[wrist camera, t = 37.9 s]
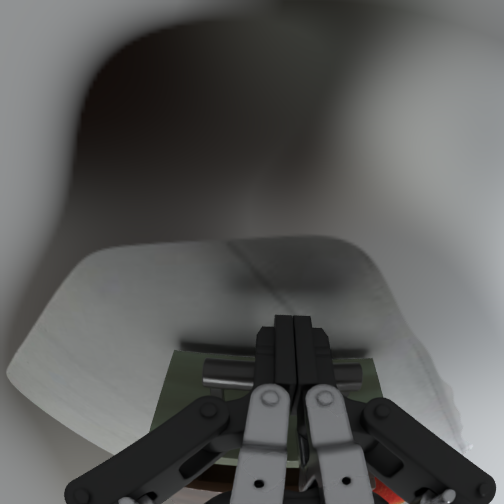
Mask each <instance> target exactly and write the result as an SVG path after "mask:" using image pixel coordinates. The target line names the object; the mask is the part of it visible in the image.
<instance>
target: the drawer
mask: <svg viewBox="0 0 504 504" xmlns="http://www.w3.org/2000/svg"><path fill="white" fill-rule="evenodd" d="M332 362H333V368H334V374H335V380H336V385H337V388H338V390H339V391H340V392H341V393H342V394H343V395H344V396H345V397H347V398H349V399H352V400H355V401H360V402H364V403H367V402H368V401H370V400H371V399H373V398H377V397H383V395H382V391H381V387H380V383H379V380H378V376H377V372H376V369H375V365H374V362H373V358H368V359H332ZM254 369H255V357H240V356H226V355H215V354H204V353H195V352H186V351H177V350H174V352H173V356H172V359H171V362H170V365H169V368H168V371H167V375H166V378H165V381H164V384H163V387H162V391H161V394H160V397H159V401H158V404H157V407H156V411H155V414H154V417H153V421H152V424H151V428H150V431H149V433H150V432H151V431H153V430H154V429H155V428H157V427H158V426H160V425H161V424H163V423H164V422H165V421H167V420H168V419H170V418H171V417H173V416H174V415H175V414H177V413H178V412H179V411H181V410H182V409H184V408H185V407H186V406H188V405H189V404H190V403H192V402H193V401H194V400H196V399H197V398H199V397H202V396H207V395H211V396H216V397H219V398H221V399H223V400H224V401H230V400H235V399H239V398H242V397H244V396H245V395H247V394H248V393H249V392H250V391H251V389H252V387H253V383H254ZM296 426H297V416H290V412H289V421H288V434H287V465H286V475H285V485H284V486H299V461H298V452H297V444H296V435H295V430H296ZM239 452H240V448H238V449H233V450H229V451H228V452H227V453H226V454H225V455H224V456H222V457H221V458H220V459H219V460H218V461H217V462H215V463H214V464H213V465H212V466H210V467H209V468H208V469H207V470H206V471H204V472H203V473H202V474H201V475H199V476H198V477H197V478H195V479H196V480H203V481H211V482H219V483H229V484H234V478H235V473H236V468H237V462H238V457H239Z"/></svg>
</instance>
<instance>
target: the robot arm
mask: <svg viewBox="0 0 504 504" xmlns="http://www.w3.org/2000/svg"><path fill="white" fill-rule="evenodd" d="M289 412H290V416H297V426H296V430H295V435H296V444H297V452H298V461H299V492H296V491H291V490H286V489H284V485H285V475H286V465H287V434H288V421H289ZM238 448H240V452H239V457H238V462H237V468H236V473H235V478H234V484H233V489H232V490H231V491H227V492H224V493H221V494H219V495H217V496H215V497H213V498H211V499H210V500H208V501H207V502H205V503H204V504H389V503H388V502H387V501H386V500H385V499H383V498H382V497H381V496H380V495H378V494H377V493H375V492H373V491H372V489H371V484H370V480H369V475H368V471H369V472H370V473H372V474H373V475H374V476H375V477H376V478H377V479H379V480H380V481H381V482H382V483H383V484H385V485H386V486H387V487H388V488H389V489H391V490H392V491H393V492H394V493H396V494H397V495H398V496H399V497H401V498H402V499H403V500H404V501H406V502H407V503H408V504H489V503H490V502H491V501H492V499H493V498H494V496H495V492H496V484H495V481H494V479H493V478H492V477H491V476H490V475H488V474H487V473H486V472H484V471H483V470H481V469H480V468H479V467H477V466H476V465H475V464H473V463H472V462H471V461H469V460H468V459H467V458H465V457H464V456H463V455H461V454H460V453H459V452H457V451H456V450H455V449H453V448H452V447H451V446H449V445H448V444H447V443H445V442H444V441H443V440H441V439H440V438H439V437H437V436H436V435H435V434H434V433H432V432H431V431H430V430H428V429H427V428H426V427H424V426H423V425H422V424H421V423H419V422H418V421H417V420H415V419H414V418H413V417H412V416H410V415H409V414H408V413H406V412H405V411H404V410H403V409H401V408H400V407H399V406H398V405H396V404H395V403H394V402H392V401H391V400H389V399H387V398H383V397H377V398H373V399H371V400H370V401H368V402H367V403H364V402H360V401H355V400H352V399H349V398H347V397H345V396H344V395H343V394H342V393H341V392H340V391H339V390H338V388H337V385H336V380H335V374H334V368H333V362H332V356H331V350H330V344H329V339H328V336H327V335H326V333H325V332H324V330H323V329H322V328H312V323H311V317H310V316H295V315H293V318H292V315H275V319H274V327H265V326H262V328H261V329H260V331H259V332H258V334H257V338H256V354H255V369H254V383H253V387H252V389H251V391H250V392H249V393H248V394H247V395H245V396H244V397H242V398H239V399H235V400H230V401H224V400H223V399H221V398H219V397H216V396H211V395H207V396H202V397H199V398H197V399H196V400H194V401H193V402H192V403H190V404H189V405H188V406H186V407H185V408H184V409H182V410H181V411H179V412H178V413H177V414H175V415H174V416H173V417H171V418H170V419H168V420H167V421H165V422H164V423H163V424H161V425H160V426H158V427H157V428H155V429H154V430H153V431H151V432H150V433H148V434H147V435H145V436H144V437H142V438H141V439H139V440H138V441H136V442H135V443H133V444H132V445H130V446H129V447H127V448H125V449H124V450H122V451H121V452H119V453H118V454H116V455H115V456H113V457H112V458H110V459H108V460H107V461H105V462H103V463H102V464H100V465H98V466H97V467H95V468H93V469H92V470H90V471H88V472H87V473H85V474H83V475H82V476H80V477H78V478H76V479H75V480H73V481H71V482H70V483H69V484H68V485H67V486H66V489H65V492H64V497H65V501H66V503H67V504H161V503H163V502H164V501H166V500H167V499H169V498H170V497H171V496H173V495H174V494H175V493H177V492H178V491H180V490H181V489H182V488H184V487H185V486H186V485H188V484H189V483H190V482H192V481H193V480H194V479H195V478H197V477H198V476H199V475H201V474H202V473H203V472H204V471H206V470H207V469H208V468H209V467H210V466H212V465H213V464H214V463H215V462H217V461H218V460H219V459H220V458H221V457H222V456H224V455H225V454H226V453H227V452H228V451H229V450H233V449H238ZM367 470H368V471H367Z"/></svg>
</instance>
